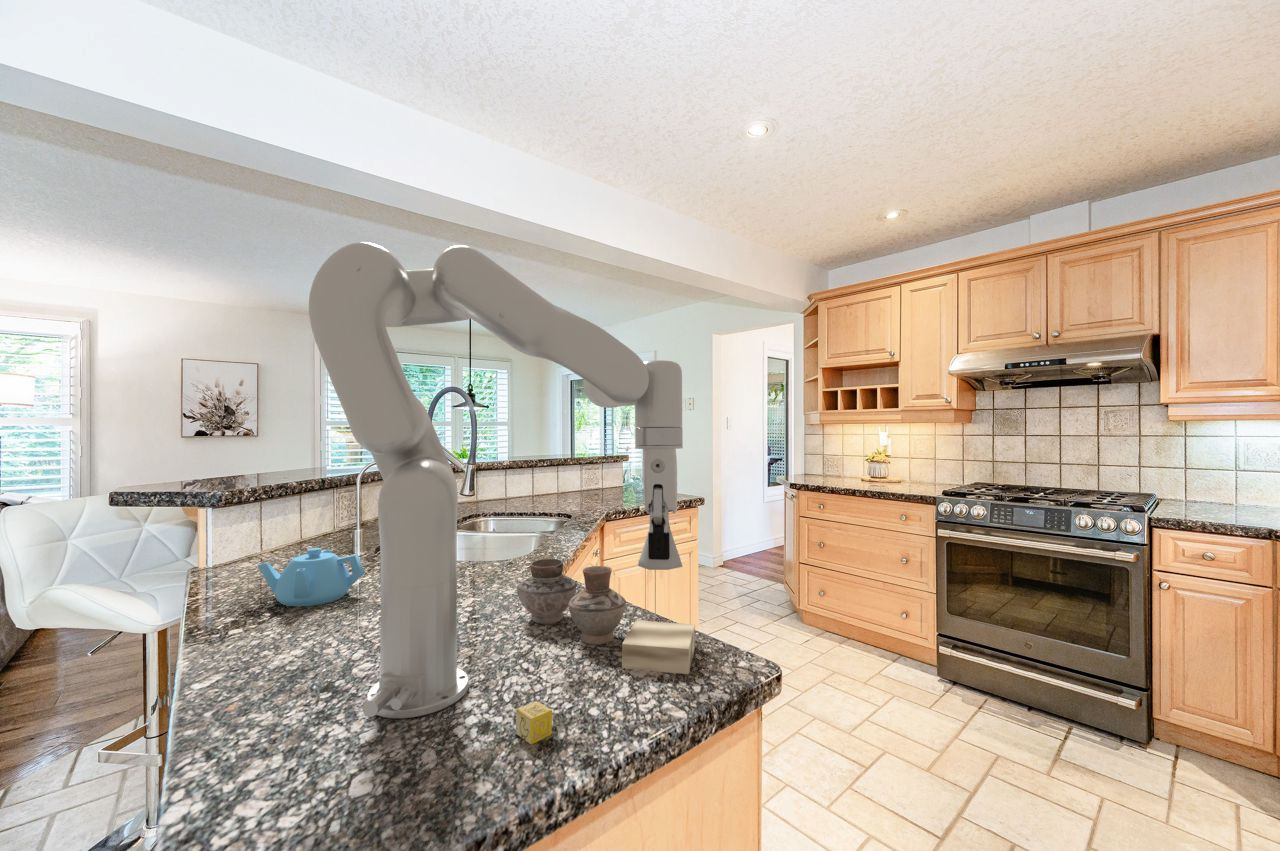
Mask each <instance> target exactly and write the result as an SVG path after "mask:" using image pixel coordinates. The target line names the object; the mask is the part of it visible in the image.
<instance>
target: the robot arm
mask: <svg viewBox="0 0 1280 851" xmlns="http://www.w3.org/2000/svg"><path fill="white" fill-rule="evenodd" d="M311 284H312V285H311V288H310V291H309V298H308V316H309V323H310V327H311V331H312V335H313V338H314V341H315V343H316V346H317V349H318V351H319V353H320V356H321V359H322V361H323V363H324V366H325V368H326V371H327V374H328V375H329V378H330V381H331V384H332V386H333V389H334V392H335V393H336V396H337V398H338V400H339V403H340V406H341V407H342V410H343V412H344V414H345V417H346V420H347V422H348V425H349V427H350V430H351V433H352V436H353V437H354V439H355V441H356V442H357V443H358V444H359V446H361V447H362V449H364V450H366V451H368V452H369V453H371V457H372V458H373V460H374V462H375V465H376V467H377V469H378V472H379V473H380V476H381V478H382V481H383V483H382V485H381V487H380V490H379V496H378V499H377V500H378V503H377V518H378V519H377V520H378V531H379V532H378V533H379V552H380V553H379V554H380V555H379V560H380V562H379V563H380V567H379V568H380V571H379V573H380V575H379V577H380V581H379V582H380V648H379V649H380V655H379V656H380V658H379V659H380V663H379V664H380V665H379V666H380V667H379V668H380V669H379V670H380V672H379V673H380V674H379V677H378V682H377V683H376V684H374V685H373V686H371V689H370V690H369V691H368V693H367V695H366V701H365V702H363V705H362V712H363V714H364V715H365V716H366V717H369V718H372V717H375V716H379V717H381V718H386V719H409V718H415V717H422V716H427V715H429V714H433V713H435V712H439V711H441V710H444V709H446V708H448V707H450V706H452V705H453V704H455V703H457V702H458V701H459V700H461V699H462V698H463V697H464V695H465V694H466V693H467V692H468V689H469V681H470V680H469V679H470V678H469V675H468V674H467V673H466V672H465V671H464V670H462V669H460V668H458V574H457V573H458V568H457V566H458V565H457V563H458V562H457V561H458V553H457V552H458V549H457V548H458V546H457V545H458V538H457V537H458V536H457V535H458V510H459V508H458V507H459V505H458V504H459V503H458V501H459V494H458V484H457V479H456V475H455V474H454V471H453V469H452V466H451V464H450V462H449V460H448V457H447V455H446V453H445V450H444V448H443V446H442V444H441V441H440V439H439V436H438V434H437V432H436V429H435V426H434V425H433V422H432V419H431V417H430V415H429V413H428V410H427V409H426V407H425V405H424V404H423V402H422V401H421V400H420V398H418V397H417V396H416V395H415V393H414V391H413V389H412V388H411V385H410V384H409V381H408V379H407V377H406V375H405V372H404V369H403V368H402V366H401V363H400V360H399V358H398V354H397V352H396V350H395V348H394V345H393V343H392V340H391V339H390V334H389V333H388V329H387V328H402V327H413V326H422V325H423V326H424V325H433V324H446V323H447V324H448V323H455V322H460V321H461V322H462V321H469V320H472V321H474V322H476V323H477V324H479V325H480V326H481V327H484V328H485V329H486V330H487V331H489V332H490V333H492V334H493V335H495V336H496V337H497V338H499V339H501V340H502V341H503V342H504V343H505V344H507V345H508V346H510V347H511V348H512V349H515V351H518V352H519V353H520V352H521V353H523V354H524V355H527V356H530V357H534V358H540V359H544V360H547V361H551V362H553V363H555V364H558V365H560V366H562V367H563V368H566V370H569V371H571V372H572V373H574V374H575V375H576V376H579V377H580V378H582V379H583V382H582V385H583V386H582V387H583V391H584V395H585V396H586V398H587V399H588V400H589V401H590V402H591V403H592V404H594V405H596V406H598V407H599V408H605V409H611V408H618V407H627V406H634V426H635V427H634V432H635V433H634V438H635V440H634V441H635V442H634V444H635V448H634V449H636V450H642V485H643V487H642V488H643V501H644V511H645V512H646V513H647V514H649V528H650V533H648V532H647V534H648V557H649V559H651V560H668V559H669V557H670V545H669V533H668V520H670V518H669V512H670V511H672V514H676V513H677V511H678V460H677V459H678V458H677V450H679V449H683V447H684V446H683V443H684V442H683V441H684V440H683V372H682V367H681V366H680V364H679V363H678V362H675V361H672V360H660V359H659V360H657V359H656V360H646V361H643V360H642V358H641V357H640V356H639V355H638V354H637V353H636V352H634V351H633V350H632V349H631V348H629V347H628V346H627V345H625V344H624V343H623V342H622V341H620V340H619V339H617V338H616V337H615V336H614V335H612V334H610V333H609V332H607V331H606V330H605V329H604V328H601V327H600V326H598V325H597V324H595V323H593V322H591V321H589V320H587V319H585V318H582V317H581V316H578V315H576V314H574V313H573V312H571V311H568V310H567V309H564V308H563V307H559V306H557V305H556V304H553V303H552V302H550V301H548V300H547V299H546V298H544V297H543V296H541V295H540V294H539V293H538V292H536V291H535V290H533V289H532V288H531V287H529V286H528V285H526V284H525V283H524V282H523V281H521V279H518V278H517V277H515V276H514V275H513V274H511V273H510V272H509V271H507V270H506V269H504V268H503V267H502V266H501V265H499V264H498V263H496V262H495V261H494V260H492V259H491V258H489V257H488V256H487V255H485V254H484V253H482V251H479V250H478V249H476V248H473V247H471V246H468V245H464V244H463V245H462V244H459V245H453V246H450V247H449V248H446V249H445V250H444V251H442V252H441V253H440V254H439V255H438V257H437V258H436V260H435V262H434V265H433V268H425V269H410V270H409V269H408V270H406V269H405V267H404V266H403V265H402V263H401V262H400V260H399V259H398V258H397V257H396V256H395V255H394V254H393V253H392V252H390V251H389V250H388V249H387V248H384V247H383V246H381V245H378V244H376V243H372V242H367V241H366V242H365V241H361V242H359V241H358V242H352V243H349V244H347V245H345V246H342V247H341V248H338V249H337V250H336V251H335V252H333V253H332V254H331V255H330V256H329V257H328V258H327V259H326V260H324V262H323V264H322V265H321V266H320V267H319V269H318V271H317V272H316V273H315V276H314V279H313V280H312V283H311ZM652 508H653V509H654V512H652ZM662 509H665V512H662Z"/></svg>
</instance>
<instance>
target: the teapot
mask: <svg viewBox="0 0 1280 851" xmlns="http://www.w3.org/2000/svg"><path fill="white" fill-rule="evenodd" d="M322 551H323V552H322ZM332 551H333V550H332V549H324V550H323V548H321V547H313V548H307V550H306V553H307V554H302V555H298V556H295V557H293V558H292V559H290V561H289V562H288V564H286V567H285V568H284V569H283V571H281V574H280V573H279V572H278V571H277V570H276V569H275V568H274V567H273V566H272V565H271V564H270V563H269V562H263V563H259V564H258V565H257V567H258V569H259V570H260V571H261V574H262V576H263V577H264V579H265V581H266V583H267V584H268V586H269V588H270V589H271V591H272V593H273V594H274V597H275V600H276V601H278V603H280V604H281V605H282V604H283V606H284V605H286V606H285V607H288V606H307V607H313V606H314V605H315V606H319V605H320V606H321V605H324V604H329V603H332V602H335V601H337V600H340V599H342V598H343V597H344V596H345V595H346V594H347V593H348V592H349V590H350V589H351V587H352V585H353V584H355V583H356V582H357V581H358V580H359V579H360V578H361V577H362V576H363V575H365V574H366V573H365V570H364V566H363V565H362V561H361V559H360V556H359V554H358V553H356V554H351V555H346V556H342V557H339V556H338V555H337V554H336V553H334V552H332ZM346 563H349V565H350V569H351V571H352V573H351V574H350V572H349V571H348V568H347V566H346V565H345V564H346ZM341 597H342V598H341Z"/></svg>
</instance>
